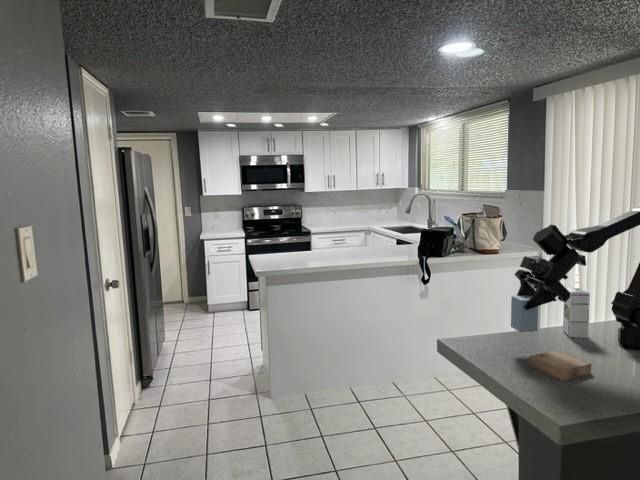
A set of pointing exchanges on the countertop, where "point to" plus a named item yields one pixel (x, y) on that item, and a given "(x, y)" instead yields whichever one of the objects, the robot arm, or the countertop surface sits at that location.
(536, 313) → the slate block
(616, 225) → the robot arm
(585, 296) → the syrup box
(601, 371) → the countertop surface
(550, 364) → the walnut block
